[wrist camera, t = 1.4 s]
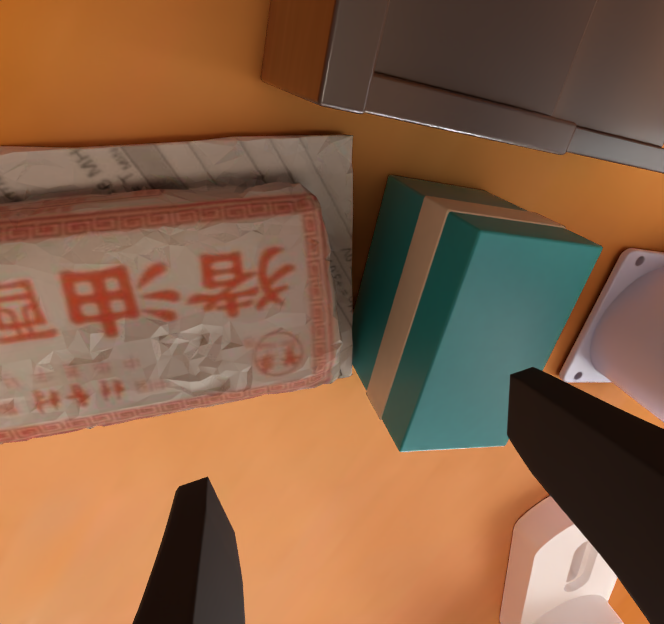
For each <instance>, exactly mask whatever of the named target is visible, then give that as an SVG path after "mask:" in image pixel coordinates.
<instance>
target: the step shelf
mask: <svg viewBox="0 0 664 624" xmlns="http://www.w3.org/2000/svg"><path fill="white" fill-rule="evenodd" d="M261 80H262V81H263V82H265V83H268V84H270V85H272V86H275V87H277V88H279V89H282V90H284V91H287V92H289V93H291V94H294V95H296V96H299V97H301V98H303V99H306V100H308V101H310V102H313V103H315V104H318V105H320V106H324V107H329V108H333V109H338V110H343V111H347V112H352V113H357V114H363V113H368V114H373V115H377V116H382V117H387V118H391V119H396V120H400V121H405V122H410V123H414V124H419V125H424V126H428V127H433V128H438V129H442V130H447V131H452V132H456V133H461V134H465V135H470V136H475V137H479V138H484V139H489V140H493V141H498V142H503V143H507V144H512V145H517V146H521V147H526V148H530V149H535V150H540V151H544V152H549V153H554V154H558V155H563V154H565V153H566V152H568V153H573V154H577V155H582V156H587V157H591V158H596V159H600V160H605V161H609V162H614V163H618V164H623V165H628V166H632V167H637V168H641V169H646V170H650V171H655V172H660V173H664V148H661V147H662V146H663V145H664V0H271V2H270V10H269V18H268V26H267V34H266V42H265V50H264V58H263V66H262V74H261Z"/></svg>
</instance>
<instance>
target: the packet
mask: <svg viewBox="0 0 664 624" xmlns="http://www.w3.org/2000/svg"><path fill="white" fill-rule="evenodd" d="M565 228H566V227H565V226H563V225H561V224H559V223H557V222H554V221H552V220H550V219H548V218H546V217H544V216H542V215H539V214H537V213H534V212H529V211H527V210H524V209H522V208H520V207H518V206H516V205H514V204H512V203H510V202H508V201H505V200H503V199H501V198H499V197H497V196H495V195H493V194H491V193H488V192H486V191H484V190H478V189H472V188H466V187H460V186H454V185H448V184H442V183H436V182H430V181H425V180H419V179H413V178H407V177H401V176H395V175H389V176H388V180H387V184H386V188H385V192H384V196H383V199H382V203H381V207H380V211H379V215H378V219H377V223H376V227H375V231H374V235H373V238H372V242H371V246H370V250H369V254H368V258H367V262H366V266H365V270H364V273H363V277H362V281H361V285H360V289H359V293H358V297H357V301H356V305H355V308H354V312H353V321H352V343H353V348H352V365H353V366H354V368H355V370H356V372H357V374H358V376H359V378H360V379H361V381H362V383H363V385H364V387H365V389H366V391H367V392H366V394H367V396H368V398H369V400H370V402H371V404H372V406H373V408H374V409H375V411H376V413H377V415H378V417H379V419H380V420H383V422H384V424H385V426H386V428H387V429H388V431H389V433H390V435H391V437H392V439H393V441H394V442H395V444H396V446H397V448H398V450H399V451H400V452H410V451H427V450H444V449H461V448H478V447H495V446H505V445H506V443H507V441H508V439H509V438H508V436H507V421H508V403H509V385H510V374H513V373H516V372H519V371H522V370H525V369H528V368H531V367H535V368H537V369H539V370H541V371H543V369H544V367H545V365H546V363H547V360H548V358H549V356H550V354H551V352H552V350H553V348H554V346H555V344H556V342H557V340H558V338H559V336H560V334H561V332H562V330H563V328H564V326H565V324H566V322H567V320H568V318H569V316H570V314H571V312H572V310H573V308H574V306H575V304H576V302H577V300H578V298H579V296H580V294H581V292H582V290H583V288H584V286H585V284H586V282H587V280H588V278H589V276H590V274H591V271H592V269H593V267H594V265H595V263H596V261H597V259H598V257H599V255H600V253H601V251H602V249H603V247H602V246H601V245H599V244H596V243H594V242H592V241H590V240H588V239H586V238H584V237H582V236H579V235H577V234H575V233H573V232H571V231H569V230H567V229H565Z"/></svg>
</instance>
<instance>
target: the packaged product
mask: <svg viewBox="0 0 664 624" xmlns="http://www.w3.org/2000/svg"><path fill="white" fill-rule="evenodd" d="M352 142H353V135H295V136H243V137H226V138H217V139H208V140H199V141H188V142H169V143H151V144H132V145H114V146H95V147H77V148H68V147H23V146H0V444H3V443H9V442H19V441H27V440H29V439H32V438H39V437H46V436H52V435H57V434H63V433H69V432H73V431H77V430H81V429H84V428H89V429H91V428H93V427H95V426H108V425H114V424H119V423H123V422H127V421H131V420H135V419H142V418H149V417H155V416H160V415H165V414H170V413H174V412H179V411H185V410H190V409H194V408H200V407H210V406H214V405H219V404H224V403H229V402H234V401H239V400H244V399H249V398H254V397H257V396H261V395H264V394H277V393H285V392H293V391H297V390H301V389H309V388H315V387H317V386H320V385H322V384H331V383H333V382H334V381H335V380H336V379H337V378H345V377H349V376H351V375H352V348H353V343H352V321H353V311H352V228H353V169H352Z"/></svg>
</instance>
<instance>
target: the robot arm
mask: <svg viewBox="0 0 664 624" xmlns="http://www.w3.org/2000/svg"><path fill="white" fill-rule="evenodd" d="M559 377H560V378H561V379H562V380H563V381H562V380H560V379H558V378H556V377H554V376H552V375H550V374H547V373H545V372H543V371H541V370H539V369H537V368H535V367H531V368H528V369H525V370H522V371H519V372H516V373H513V374H510V385H509V403H508V421H507V436H508V438H509V439H510V441H511V442H512V444H513V445H514V447H515V449H516V450H517V452H518V453H519V455H520V456H521V458H522V459H523V461H524V462H525V464H526V465H527V467H528V468H529V470H530V471H531V473H532V474H533V475H534V476H535V478H536V479H537V480H538V481H539V483H540V484H541V485H542V486H543V487H544V489H545V490H546V491H547V492H548V493H549V495H550V496H551V497H552V498H553V499H554V501H555V502H556V503H557V504H558V505H559V507H560V508H561V509H562V510H563V511H564V513H565V514H566V515H567V516H568V517H569V519H570V520H571V521H572V522H573V523H574V524H575V526H576V527H577V528H578V529H579V530H580V532H581V533H582V534H583V535H584V536H585V538H586V539H587V540H588V541H589V542H590V543H591V545H592V546H593V547H594V548H595V549H596V551H597V552H598V553H599V554H600V555H601V557H602V558H603V559H604V560H605V562H606V563H607V564H608V566H609V567H610V568H611V569H612V571H613V572H614V573H615V574H616V576H617V577H618V579H619V580H620V581H621V583H622V584H623V586H624V587H625V588H626V590H627V591H628V593H629V594H630V596H631V597H632V598H633V600H634V601H635V603H636V604H637V606H638V607H639V608H640V610H641V611H642V613H643V614H644V615H645V617H646V618H647V620H648V621H649V623H650V624H664V429H662V428H660V427H658V426H656V425H653V424H651V423H649V422H647V421H644V420H642V419H640V418H638V417H636V416H634V415H631V414H629V413H627V412H625V411H623V410H621V409H619V408H617V407H614V406H612V405H610V404H608V403H606V402H604V401H602V400H600V399H598V398H596V397H594V396H592V395H590V394H588V393H586V392H584V391H582V390H580V389H578V388H576V387H574V386H572V385H570V384H568V383H566V382H613V383H614V384H615V385H616V386H618V387H619V388H620V389H622V390H623V391H624V392H625V393H627V394H628V395H629V396H631V397H632V398H633V399H634V400H636V401H637V402H638V403H640V404H641V405H642V406H643V407H645V408H646V409H647V410H649V411H650V412H651V413H652V414H654V415H655V416H656V417H658V418H659V419H660V420H661V421H663V422H664V252H658V251H650V250H643V249H636V248H629V249H627V250H625V251H624V252H622V254H621V255H620V257H619V259H618V261H617V262H616V264H615V266H614V268H613V270H612V272H611V274H610V276H609V278H608V280H607V282H606V284H605V286H604V288H603V290H602V292H601V293H600V295H599V297H598V299H597V301H596V303H595V305H594V307H593V309H592V311H591V313H590V315H589V317H588V319H587V321H586V323H585V325H584V326H583V328H582V330H581V332H580V334H579V336H578V338H577V340H576V342H575V344H574V346H573V348H572V350H571V352H570V354H569V356H568V357H567V359H566V361H565V363H564V365H563V367H562V369H561V371H560V374H559ZM133 624H245V613H244V596H243V581H242V575H241V568H240V562H239V556H238V550H237V544H236V538H235V532H234V530H233V528H232V526H231V524H230V522H229V520H228V518H227V516H226V514H225V512H224V510H223V507H222V505H221V503H220V501H219V499H218V497H217V495H216V493H215V491H214V489H213V487H212V485H211V482H210V480H209V478H208V477H205V478H202V479H200V480H197V481H194V482H191V483H188V484H185V485H182V486H179V488H178V489H177V490H176V493H175V496H174V500H173V504H172V508H171V511H170V515H169V518H168V522H167V525H166V529H165V532H164V535H163V538H162V542H161V545H160V548H159V551H158V554H157V557H156V560H155V563H154V566H153V569H152V572H151V575H150V577H149V580H148V583H147V586H146V589H145V592H144V595H143V598H142V600H141V603H140V606H139V608H138V611H137V613H136V616H135V618H134V621H133Z"/></svg>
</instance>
